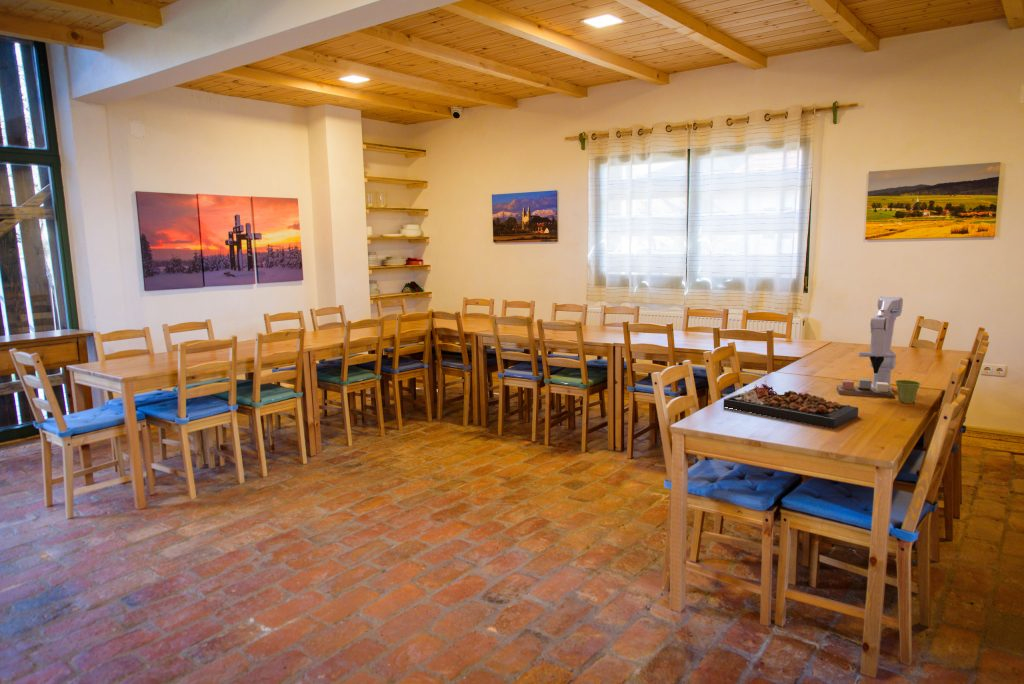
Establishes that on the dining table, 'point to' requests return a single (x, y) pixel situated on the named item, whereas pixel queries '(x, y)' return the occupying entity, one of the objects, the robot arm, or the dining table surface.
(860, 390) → the brown flat board
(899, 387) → the plant pot
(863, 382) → the slate key
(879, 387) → the ivory key
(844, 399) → the dining table surface
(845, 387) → the brick key
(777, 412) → the food platter
